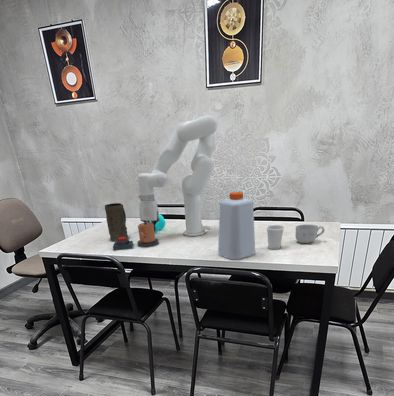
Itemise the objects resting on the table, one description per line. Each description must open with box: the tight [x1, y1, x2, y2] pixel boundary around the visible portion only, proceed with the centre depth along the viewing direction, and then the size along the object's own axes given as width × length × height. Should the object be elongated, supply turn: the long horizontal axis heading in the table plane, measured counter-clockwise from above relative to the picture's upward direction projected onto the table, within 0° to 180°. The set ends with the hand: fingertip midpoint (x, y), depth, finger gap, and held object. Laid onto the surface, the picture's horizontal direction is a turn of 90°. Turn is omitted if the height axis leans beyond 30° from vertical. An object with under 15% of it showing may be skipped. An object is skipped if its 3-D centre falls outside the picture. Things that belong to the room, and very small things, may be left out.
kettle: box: [137, 222, 156, 243], centre depth 188 cm, size 17×8×10 cm, turn 168°
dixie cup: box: [266, 224, 285, 250], centre depth 169 cm, size 8×8×10 cm
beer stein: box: [104, 202, 129, 242], centre depth 201 cm, size 15×11×20 cm
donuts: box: [150, 213, 166, 234], centre depth 210 cm, size 10×10×10 cm
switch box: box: [112, 238, 134, 251], centre depth 187 cm, size 10×8×4 cm
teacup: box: [295, 223, 325, 244], centre depth 174 cm, size 14×11×8 cm
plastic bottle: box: [217, 191, 256, 261], centre depth 159 cm, size 15×15×28 cm
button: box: [118, 237, 126, 242], centre depth 186 cm, size 4×4×2 cm
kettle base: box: [137, 237, 160, 248], centre depth 190 cm, size 12×12×2 cm
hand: (151, 232), depth 195 cm, fingers closed on kettle
